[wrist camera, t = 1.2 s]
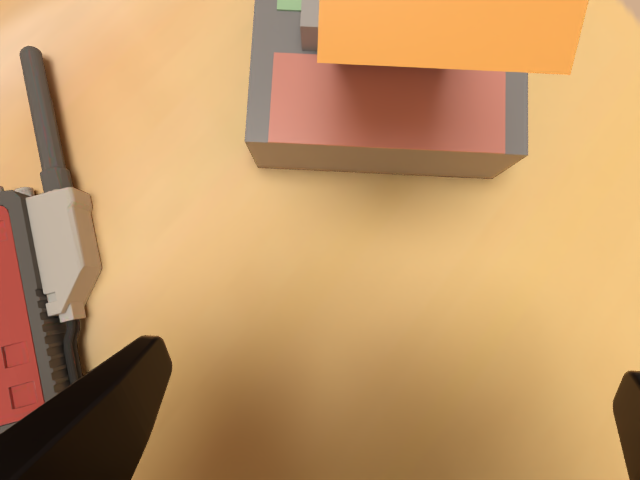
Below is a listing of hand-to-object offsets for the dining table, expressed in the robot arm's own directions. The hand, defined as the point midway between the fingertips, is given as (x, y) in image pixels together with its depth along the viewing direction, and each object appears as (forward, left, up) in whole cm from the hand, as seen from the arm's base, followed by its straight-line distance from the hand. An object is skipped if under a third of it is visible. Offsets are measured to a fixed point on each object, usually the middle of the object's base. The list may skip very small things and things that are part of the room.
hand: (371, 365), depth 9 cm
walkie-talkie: (+2, +17, -14) cm, 22 cm away
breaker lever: (+13, -1, -8) cm, 15 cm away
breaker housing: (+13, -1, -13) cm, 18 cm away
